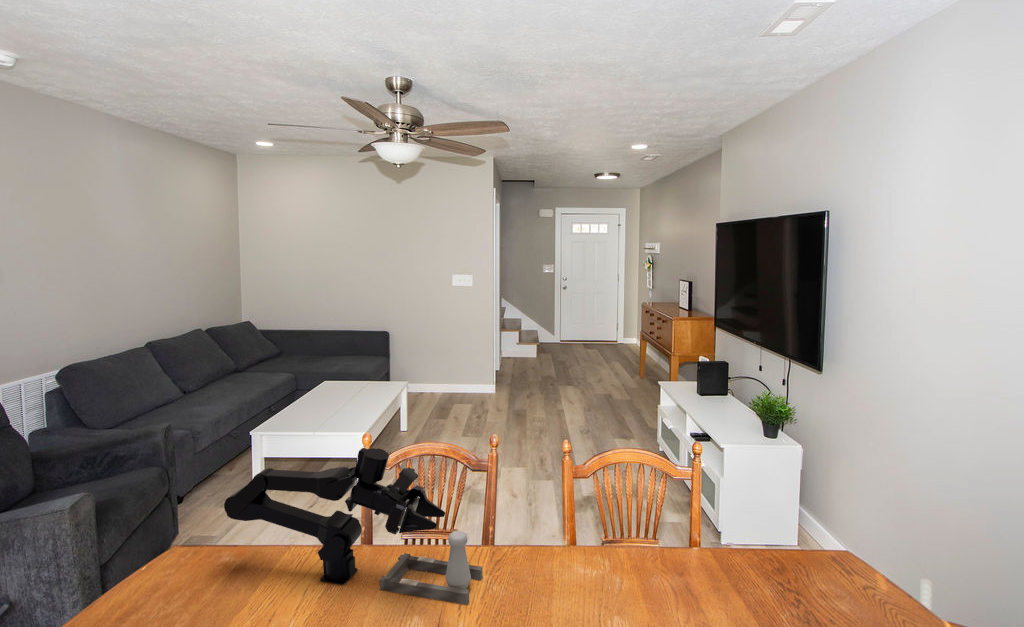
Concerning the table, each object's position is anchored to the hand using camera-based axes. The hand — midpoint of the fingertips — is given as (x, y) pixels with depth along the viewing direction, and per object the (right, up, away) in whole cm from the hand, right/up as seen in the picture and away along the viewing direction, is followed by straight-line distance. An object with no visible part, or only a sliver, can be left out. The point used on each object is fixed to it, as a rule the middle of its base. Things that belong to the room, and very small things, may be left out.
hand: (440, 520), depth 130 cm
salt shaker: (+4, -16, +1) cm, 16 cm away
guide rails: (-2, -15, +2) cm, 16 cm away
